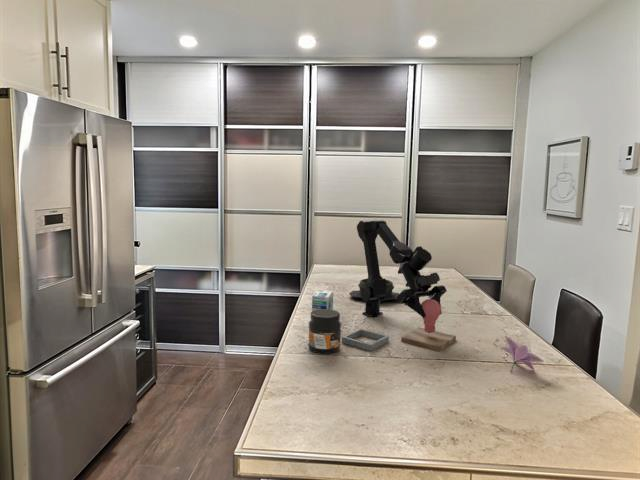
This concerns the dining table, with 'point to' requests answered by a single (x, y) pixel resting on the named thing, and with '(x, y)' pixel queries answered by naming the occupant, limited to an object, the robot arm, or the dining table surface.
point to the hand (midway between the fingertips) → (432, 315)
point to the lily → (520, 353)
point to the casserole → (389, 296)
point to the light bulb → (430, 314)
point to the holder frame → (350, 341)
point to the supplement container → (324, 331)
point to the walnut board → (428, 339)
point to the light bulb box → (322, 300)
